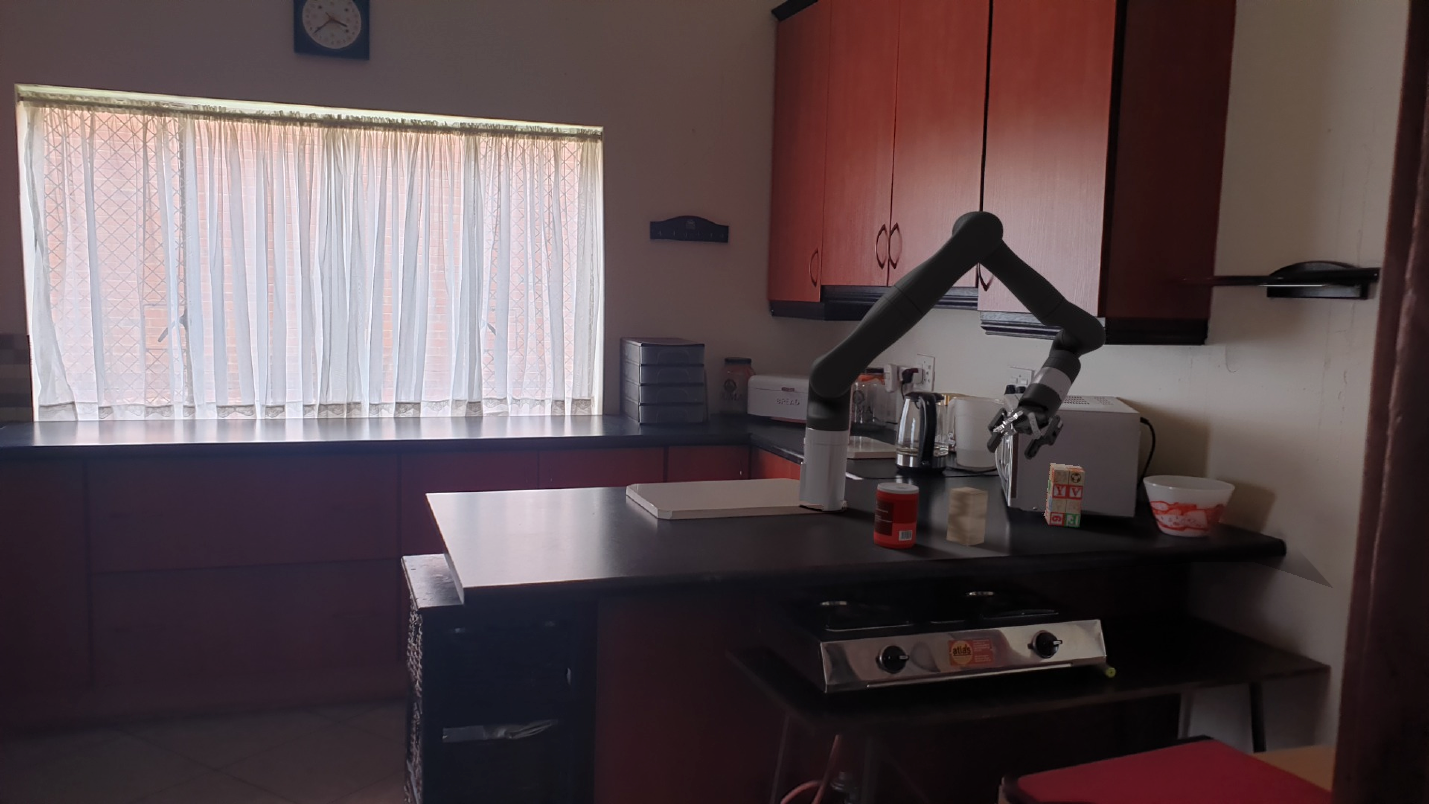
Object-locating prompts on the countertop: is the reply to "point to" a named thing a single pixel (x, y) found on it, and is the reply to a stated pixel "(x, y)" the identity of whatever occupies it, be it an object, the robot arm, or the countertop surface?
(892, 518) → the canned food
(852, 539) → the countertop surface
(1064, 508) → the stack of blocks
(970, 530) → the oak block
